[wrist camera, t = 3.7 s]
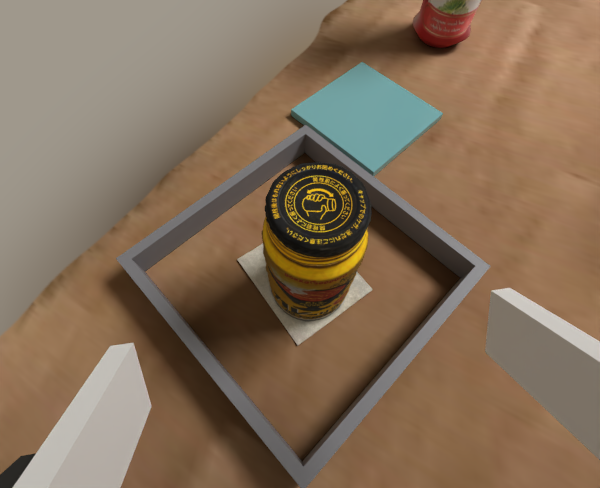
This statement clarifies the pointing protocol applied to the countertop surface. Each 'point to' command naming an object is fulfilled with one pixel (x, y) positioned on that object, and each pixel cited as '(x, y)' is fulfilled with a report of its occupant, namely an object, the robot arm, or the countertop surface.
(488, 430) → the countertop surface
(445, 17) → the liquor
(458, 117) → the countertop surface
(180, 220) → the frame
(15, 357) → the countertop surface
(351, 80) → the coaster
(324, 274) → the condiment
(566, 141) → the countertop surface
